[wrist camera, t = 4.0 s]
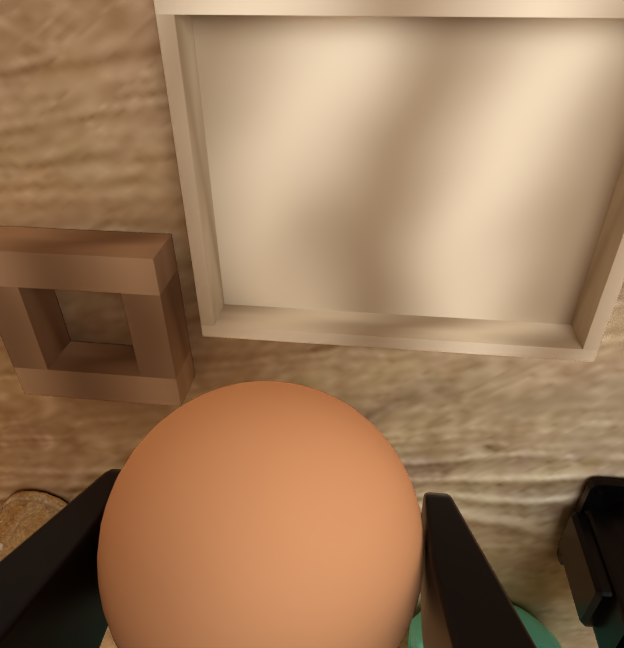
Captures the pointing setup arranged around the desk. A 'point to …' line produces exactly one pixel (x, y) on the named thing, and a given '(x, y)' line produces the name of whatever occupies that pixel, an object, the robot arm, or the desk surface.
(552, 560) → the desk surface
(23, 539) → the sprinkles bottle
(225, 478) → the ball
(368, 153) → the tray
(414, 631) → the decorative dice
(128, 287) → the brown flat square frame
